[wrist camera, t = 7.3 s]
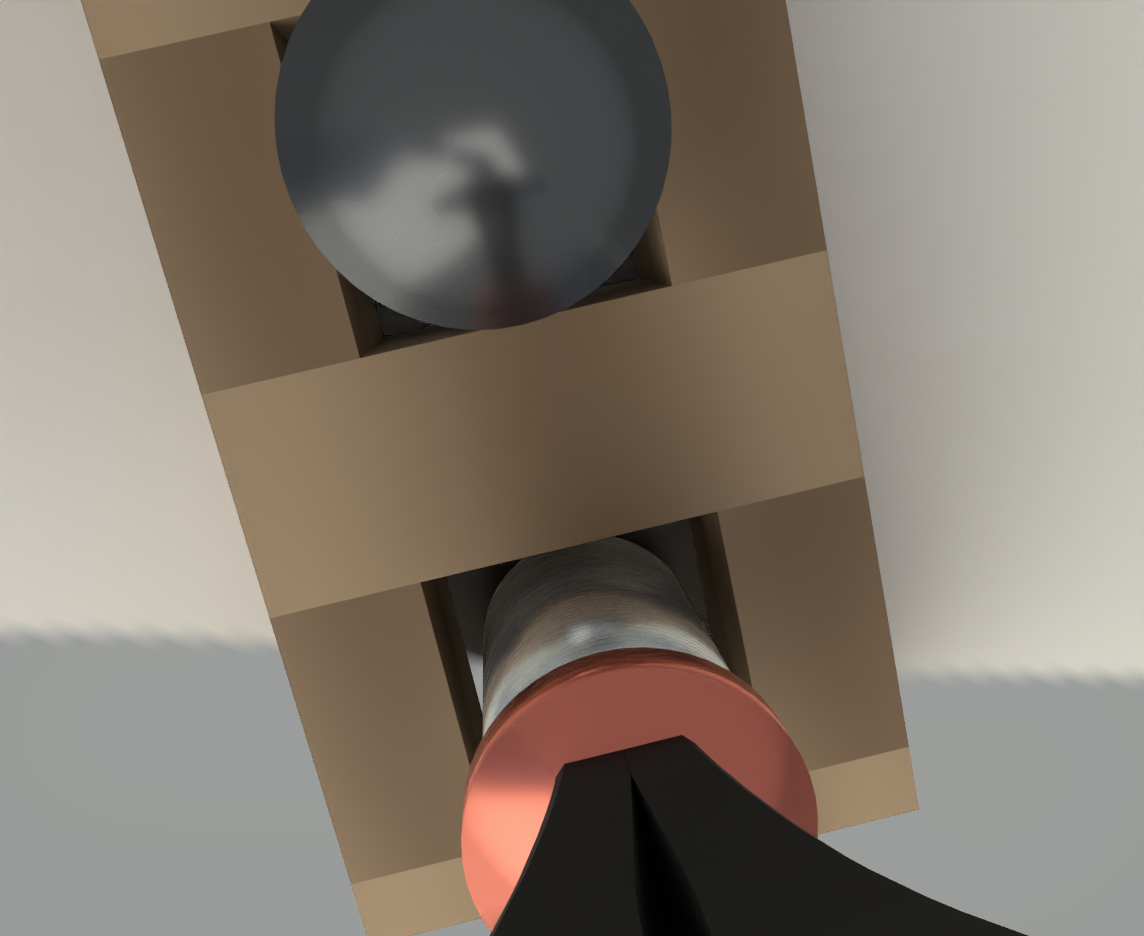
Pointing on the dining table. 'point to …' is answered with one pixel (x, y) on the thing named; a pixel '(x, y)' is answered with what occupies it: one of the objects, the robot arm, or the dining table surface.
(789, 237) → the jig
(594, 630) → the plunger red
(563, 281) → the plunger
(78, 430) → the dining table surface
